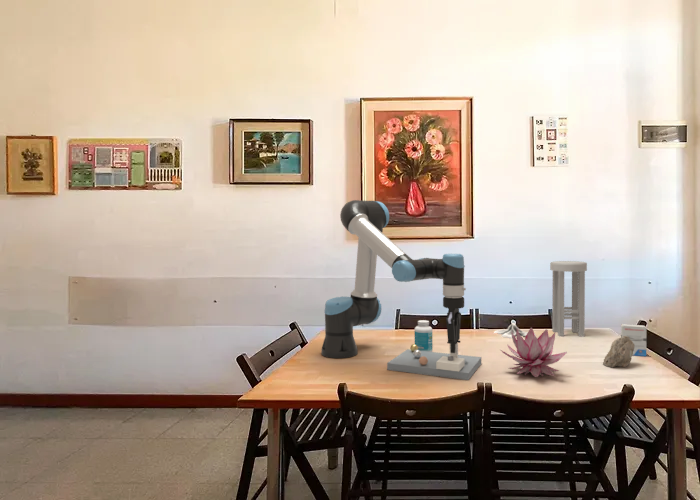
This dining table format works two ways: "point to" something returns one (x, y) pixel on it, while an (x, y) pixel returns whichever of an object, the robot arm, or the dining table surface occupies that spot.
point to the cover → (450, 363)
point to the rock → (620, 352)
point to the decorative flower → (534, 353)
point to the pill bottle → (423, 336)
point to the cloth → (508, 331)
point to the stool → (577, 296)
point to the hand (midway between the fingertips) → (453, 360)
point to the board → (433, 365)
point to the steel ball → (417, 354)
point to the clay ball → (423, 360)
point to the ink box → (636, 337)
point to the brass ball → (413, 347)
